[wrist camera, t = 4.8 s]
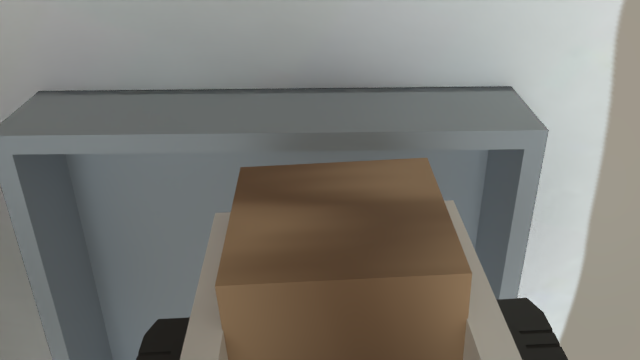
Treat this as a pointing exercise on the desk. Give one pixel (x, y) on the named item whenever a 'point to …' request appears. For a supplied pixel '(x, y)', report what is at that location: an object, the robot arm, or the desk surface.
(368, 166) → the walnut cube
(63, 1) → the desk surface
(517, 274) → the tote
